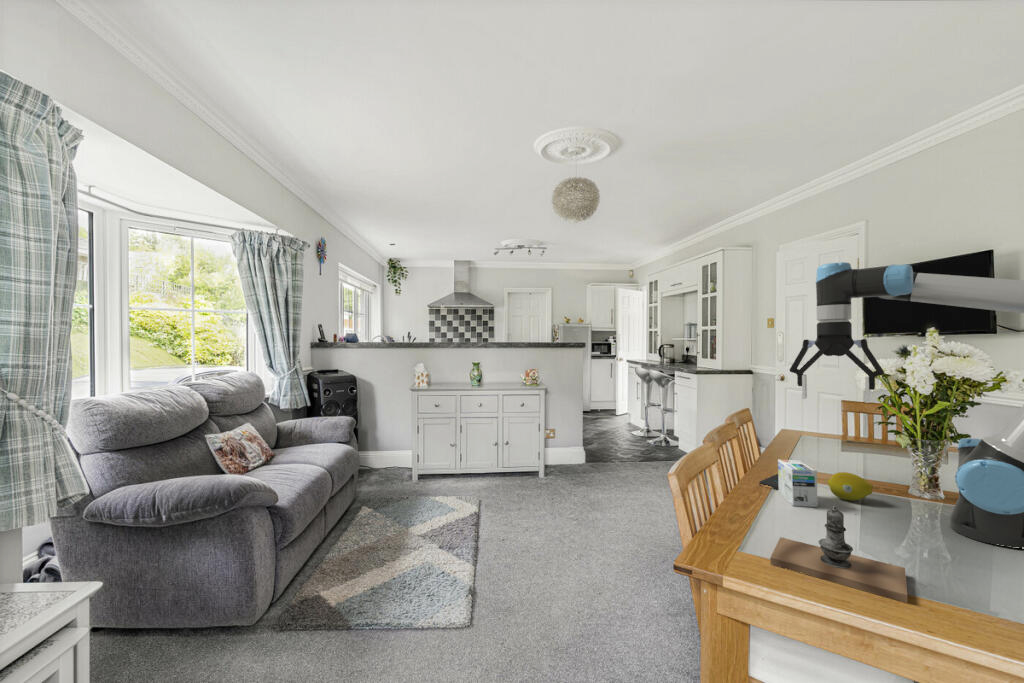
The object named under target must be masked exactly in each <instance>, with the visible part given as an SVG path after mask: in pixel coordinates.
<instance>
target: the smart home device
mask: <svg viewBox="0 0 1024 683" xmlns="http://www.w3.org/2000/svg"><path fill="white" fill-rule="evenodd" d="M760 484H763V485H768V486H771V487H772V488H773V489H772V490H775V491H779V481H778V473H776V474H774V475H771V476H770V477H767V478H764V479H762V480H760V481H759V485H760Z"/></svg>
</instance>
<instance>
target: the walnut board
mask: <svg viewBox="0 0 1024 683" xmlns="http://www.w3.org/2000/svg"><path fill="white" fill-rule="evenodd" d="M823 555H825V554H824V553H823V552H822V550H821V547H820V546H817V545H813V544H810V543H805V542H801V541H797V540H793V539H790V538H785V537H780V536H779V539H778V541H777V543H776V545H775V547H774V549H773V551H772V553H771V555H770V565H771V564H772V566H775V567H778V566H779V568H782V567H783V568H782V569H785V568H786V569H787V570H789V569H791V570H790V571H792V570H794V571H793V572H796V571H798V572H797V573H800V572H802V573H801V574H803V573H804V575H807V574H808V575H807V576H810V577H814V578H818V579H821V580H825V581H828V582H831V583H835V584H838V585H843V586H845V587H849V588H853V589H855V590H856V589H857V590H860V591H863V592H865V593H871V594H873V595H877V596H880V597H883V598H884V597H885V598H887V599H891V600H895V601H899V602H901V601H902V603H905V602H906V604H908V598H909V597H908V588H907V586H908V585H907V577H906V576H907V575H906V568H905V567H904V566H903V567H902V566H899V565H895V564H891V563H886V562H883V561H878V560H874V559H871V558H867V557H863V556H858V555H855V554H851V555H850V557H849V558H847V559H846V560H847V561H849V562H850V563H851V567H850V568H847V569H842V568H836V567H832V566H830V565H827V564H825V563H824V562H822V561H821V559H820V557H821V556H823Z"/></svg>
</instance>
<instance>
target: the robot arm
mask: <svg viewBox="0 0 1024 683" xmlns="http://www.w3.org/2000/svg"><path fill="white" fill-rule="evenodd" d="M815 289H816V291H815V292H816V320H817V321H819V322H817V323H816V338H815V340H811V339H803V342H802V347H801V349H800V351H799V353H798V354H797V356H796V357H795V359H794V361H793V363H792V365H791V367H790V368H789V372H790V373H793V374H796V376H797V378H796V380H797V384H796V385H797V386H798V387H801V389H802V390H801V393H802V395H801V398H802V399H804V400H805V399H807V398H808V396H807V394H808V387H807V385H808V384H807V383H808V382H807V379H808V378H807V374H804V373H805V372H806V371H807V370H808V369H810V367H812V365H813V364H814V363H816V362H817V361H818V360H819V358H820V357H821V356H823V355H824V356H827V357H832V356H835V357H836V356H837V357H842V356H846V357H847V358H849V359H850V360H851V361H852V362H853V363H854V364H855V365H856V366H857V367H859V368H860V369H861V370H862V371H863V372H864V373H865V374H866V375H867V376H865V377H864V381H865V382H864V383H865V384H864V396H865V401H864V402H865V403H866V404H867V403H868V404H869V403H870V390H872V391H873V390H875V389H876V377H878V376H883V375H885V370H884V369H883V368H882V367H881V365H880V363H879V362H878V361H877V359H876V357H875V355H874V354H873V352H872V351H871V350H870V348H869V345H868V340H867V339H865V338H862V339H853V338H852V337H853V336H852V335H853V334H852V330H853V329H852V327H853V326H852V324H853V323H852V322H851V321H850V320H851V319H852V299H860V298H879V299H882V300H883V299H884V300H890V301H891V300H895V301H896V300H898V301H904V302H908V301H909V302H916V303H917V302H918V303H924V304H925V303H926V304H933V305H934V304H935V305H942V306H944V305H945V306H952V307H953V306H954V307H960V308H963V307H964V308H970V309H978V310H979V309H980V310H989V311H999V312H1008V313H1017V314H1024V280H1023V279H1011V278H1010V279H1009V278H993V277H982V276H981V277H980V276H965V275H953V274H952V275H951V274H941V273H924V272H914V270H913V267H912V265H911V264H909V263H907V264H891V265H885V266H876V267H866V268H856V269H855V268H852V264H851V263H850V262H844V261H843V262H842V261H841V262H831V263H825V264H821V265H819V266H818V267H817V268H816V281H815ZM814 345H815V346H816V348H817V349H818V351H817V352H816V353H815V354H814V355H813V356H812V357H811V358H809V360H807V361H806V362H805V363H804V364H803V366H802V367H800V368H799V365H800V364H801V363H802V362H803V359H804V357H805V356H806V354H807V353H808V350H809V349H810V348H812V347H813V346H814ZM854 345H856V346H857V347H858V348H860V349H862V351H863V353H864V354H865V356H866V358H867V359H868V360H869V362H870V363H871V365H872V367H873V368H874V371H873V370H871V369H870V367H869V366H867V364H865V363H864V362H863V361H862V360H861V359H860V358H859V357H858V356H856V354H855V353H853V351H852V350H850V349H852V347H853V346H854ZM956 448H957V450H958V451H957V452H958V464H957V470H956V473H955V475H954V478H955V483H956V487H957V488H958V498H957V501H956V502H955V504H954V507H953V509H952V511H951V513H950V515H949V525H948V526H949V528H950V529H951V528H952V529H951V530H952V531H953V532H956V533H958V534H959V533H960V534H959V535H961V536H964V537H966V536H967V538H969V539H972V540H975V541H978V540H979V542H981V541H983V542H982V543H985V542H987V543H986V544H988V543H992V544H999V545H1004V546H1011V547H1019V548H1022V547H1024V404H1023V405H1022V406H1021V407H1020V408H1019V410H1018V411H1017V412H1016V413H1015V414H1014V416H1012V418H1011V419H1010V420H1009V422H1008V423H1007V424H1005V425H1004V428H1002V430H1001V431H1000V432H999V433H998V434H997V435H993V436H986V437H985V436H984V437H983V438H972V437H967V438H966V437H964V438H960V440H959V441H958V446H957V447H956ZM992 544H991V545H992Z"/></svg>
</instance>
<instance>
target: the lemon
mask: <svg viewBox="0 0 1024 683" xmlns="http://www.w3.org/2000/svg"><path fill="white" fill-rule="evenodd" d="M826 483H827V485H828V487H829V490H830V492H831V493H832V494H833V495H834V496H835V497H837V498H839V499H841V500H844V501H848V502H850V501H851V502H853V501H860V500H863V499H865V498H867V497H868V496H869V495H872V494H873V489H874V485H873V484H872V483H870V482H869V481H867V480H866V479H864V478H863V477H862V476H860V475H857V474H855V473H851V472H844V471H843V472H841V471H840V472H837V473H836V472H835V473H834V474H833V475H831V477H830V478H829V479H827V481H826Z"/></svg>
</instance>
